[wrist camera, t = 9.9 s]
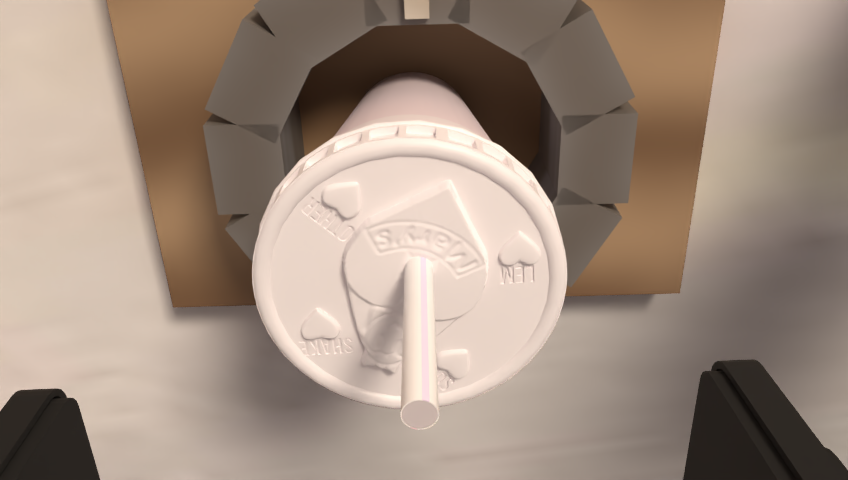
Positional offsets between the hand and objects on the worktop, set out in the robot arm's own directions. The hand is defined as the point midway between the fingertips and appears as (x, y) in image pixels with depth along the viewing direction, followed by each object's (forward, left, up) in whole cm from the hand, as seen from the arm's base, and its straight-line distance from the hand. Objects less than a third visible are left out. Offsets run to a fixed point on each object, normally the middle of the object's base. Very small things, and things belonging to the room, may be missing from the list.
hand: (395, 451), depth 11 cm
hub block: (+1, 0, -15) cm, 15 cm away
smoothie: (0, 0, -14) cm, 14 cm away
